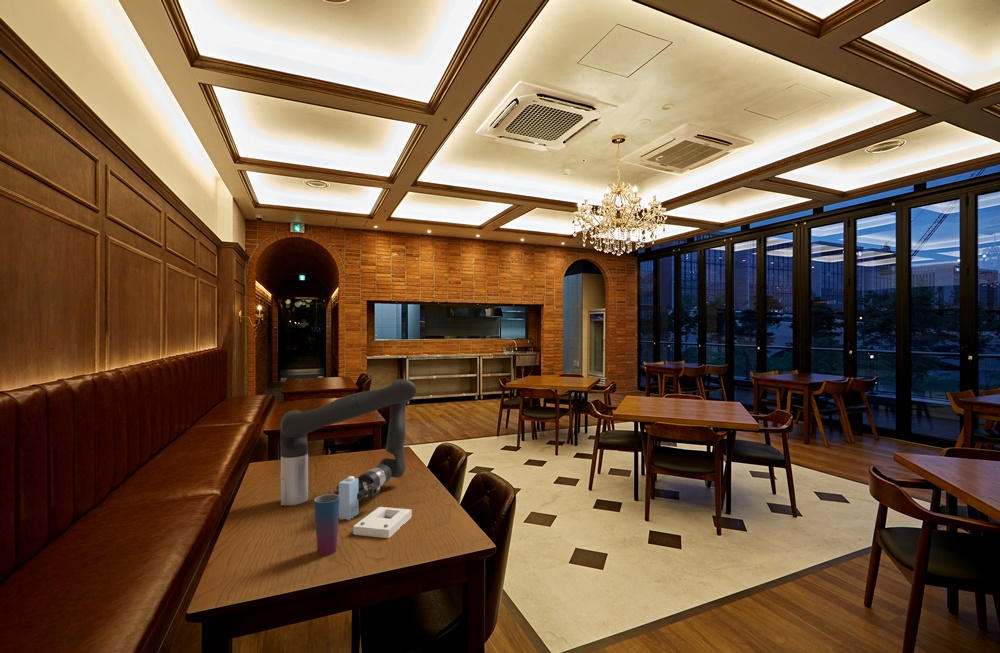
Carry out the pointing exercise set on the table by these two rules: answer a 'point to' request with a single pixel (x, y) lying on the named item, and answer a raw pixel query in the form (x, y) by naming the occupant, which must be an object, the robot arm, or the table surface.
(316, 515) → the cup
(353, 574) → the table surface
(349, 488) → the block
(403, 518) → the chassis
